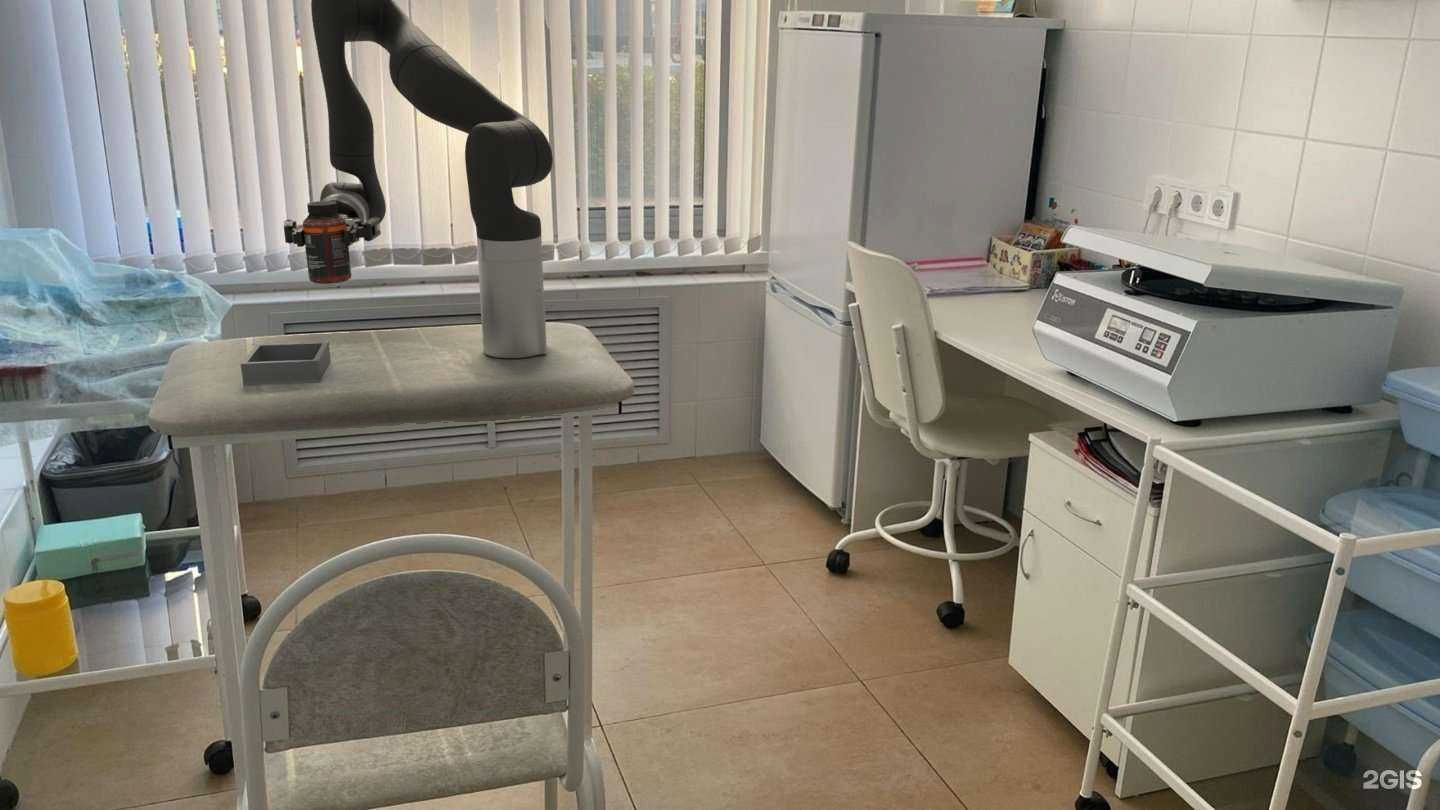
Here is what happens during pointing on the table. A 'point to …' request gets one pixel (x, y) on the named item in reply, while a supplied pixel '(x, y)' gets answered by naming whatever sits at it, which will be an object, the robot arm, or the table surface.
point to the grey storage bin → (286, 363)
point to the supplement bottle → (326, 244)
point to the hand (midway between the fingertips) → (323, 238)
